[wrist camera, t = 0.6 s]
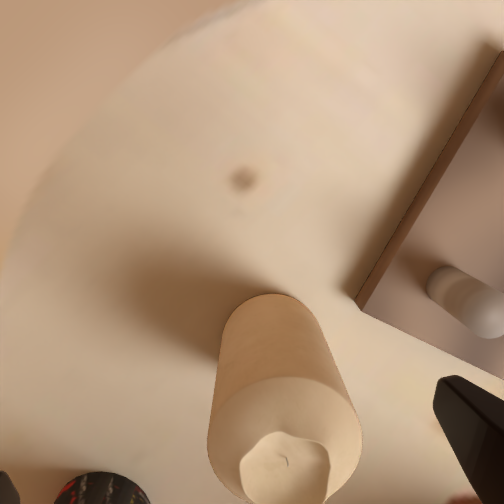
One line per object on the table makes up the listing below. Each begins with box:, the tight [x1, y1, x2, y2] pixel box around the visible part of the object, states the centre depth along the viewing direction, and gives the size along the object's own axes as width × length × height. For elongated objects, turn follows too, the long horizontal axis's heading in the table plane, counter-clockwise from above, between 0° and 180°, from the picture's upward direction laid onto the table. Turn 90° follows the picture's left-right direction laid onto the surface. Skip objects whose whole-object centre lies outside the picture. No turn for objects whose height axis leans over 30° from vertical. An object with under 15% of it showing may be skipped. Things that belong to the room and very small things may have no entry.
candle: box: [207, 294, 363, 504], centre depth 18 cm, size 6×6×10 cm
